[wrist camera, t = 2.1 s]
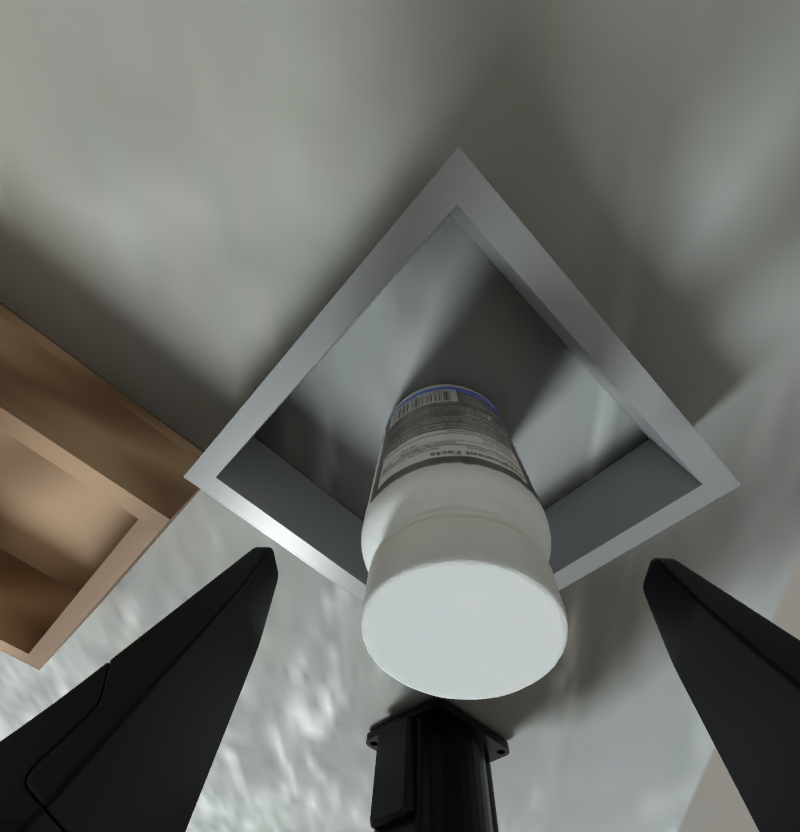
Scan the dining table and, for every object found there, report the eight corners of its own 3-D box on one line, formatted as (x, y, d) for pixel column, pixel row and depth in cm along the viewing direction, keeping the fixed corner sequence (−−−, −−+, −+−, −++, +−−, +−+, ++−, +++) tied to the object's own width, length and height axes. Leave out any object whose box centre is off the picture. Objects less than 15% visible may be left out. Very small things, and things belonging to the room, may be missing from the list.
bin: (680, 439, 14) (741, 485, 11) (440, 597, 18) (442, 658, 16) (450, 171, 11) (459, 146, 8) (226, 436, 15) (183, 477, 13)
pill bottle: (480, 498, 16) (530, 733, 8) (372, 470, 16) (321, 685, 8) (524, 399, 14) (643, 585, 6) (401, 365, 14) (369, 516, 6)
